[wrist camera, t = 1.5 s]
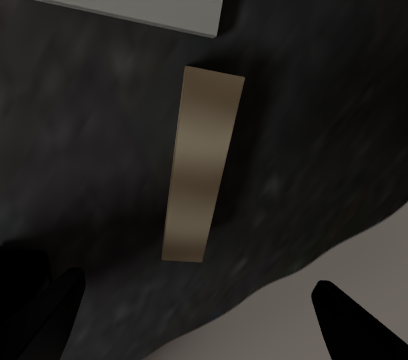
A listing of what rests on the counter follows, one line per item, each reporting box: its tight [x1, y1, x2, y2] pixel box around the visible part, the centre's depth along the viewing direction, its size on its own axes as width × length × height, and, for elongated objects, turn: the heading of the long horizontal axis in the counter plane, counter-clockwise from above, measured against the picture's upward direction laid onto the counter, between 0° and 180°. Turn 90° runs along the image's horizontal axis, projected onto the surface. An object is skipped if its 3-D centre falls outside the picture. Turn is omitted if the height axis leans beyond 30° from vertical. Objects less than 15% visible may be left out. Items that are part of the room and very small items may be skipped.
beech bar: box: [162, 66, 245, 262], centre depth 18 cm, size 15×4×4 cm, turn 170°
